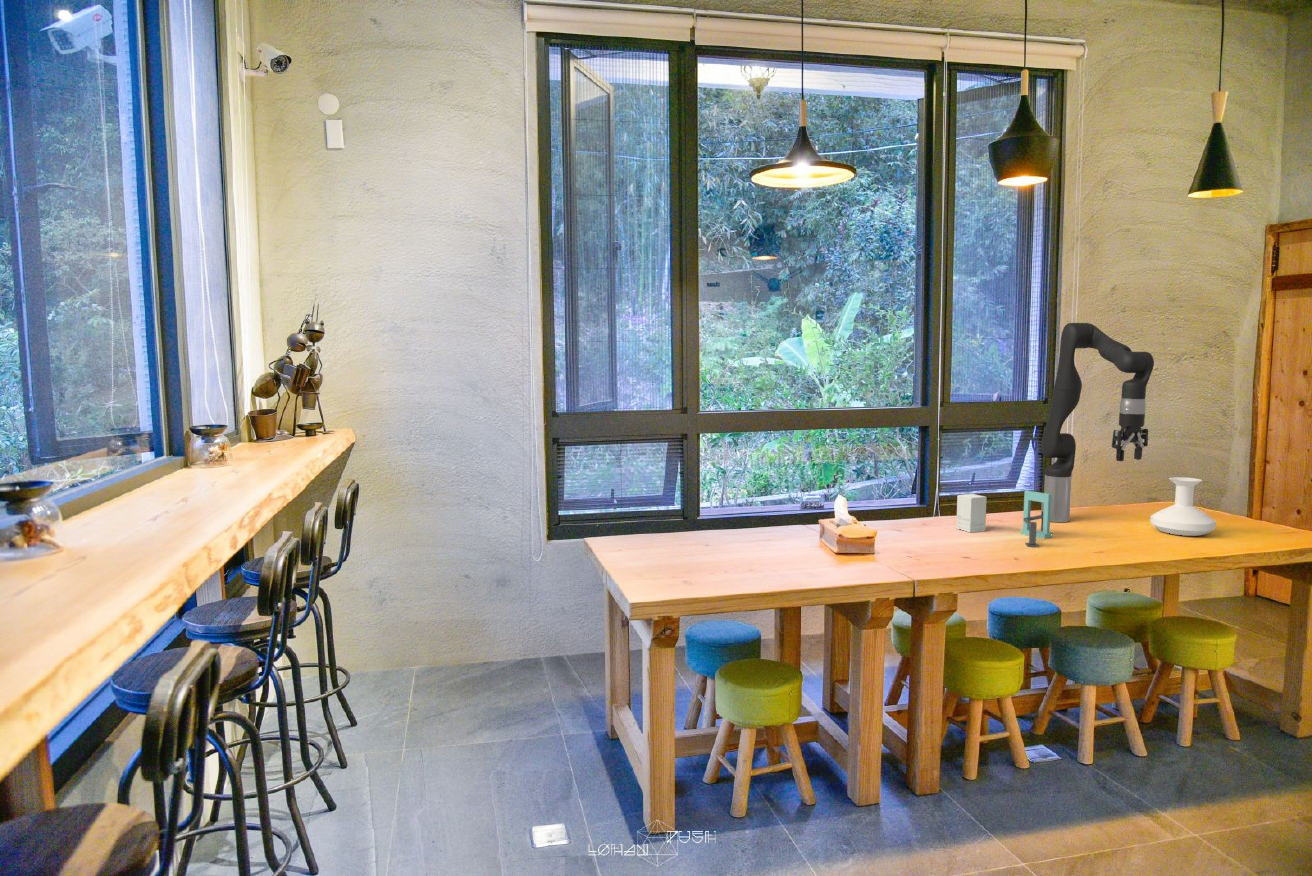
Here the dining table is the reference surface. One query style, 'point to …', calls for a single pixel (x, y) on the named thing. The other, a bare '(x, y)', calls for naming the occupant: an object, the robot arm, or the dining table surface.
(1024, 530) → the teal frame
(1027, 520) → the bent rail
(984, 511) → the supplement box
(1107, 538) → the dining table surface
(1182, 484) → the candle holder
